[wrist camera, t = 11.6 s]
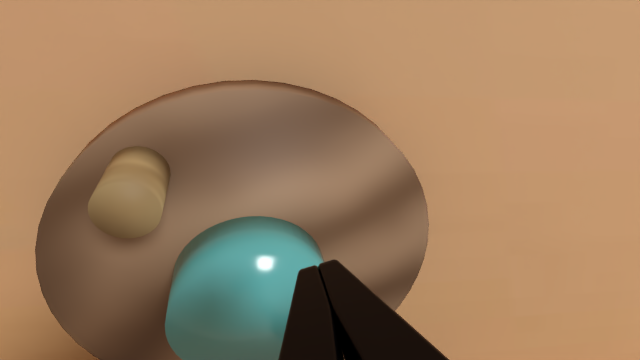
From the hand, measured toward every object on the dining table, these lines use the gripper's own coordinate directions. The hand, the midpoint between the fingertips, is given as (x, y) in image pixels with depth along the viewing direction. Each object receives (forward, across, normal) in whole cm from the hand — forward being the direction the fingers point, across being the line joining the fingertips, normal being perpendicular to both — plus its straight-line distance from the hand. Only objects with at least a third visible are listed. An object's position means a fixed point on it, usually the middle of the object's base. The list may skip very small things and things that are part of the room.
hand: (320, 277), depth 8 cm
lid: (+10, +3, +8) cm, 13 cm away
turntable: (+12, +3, +8) cm, 15 cm away
